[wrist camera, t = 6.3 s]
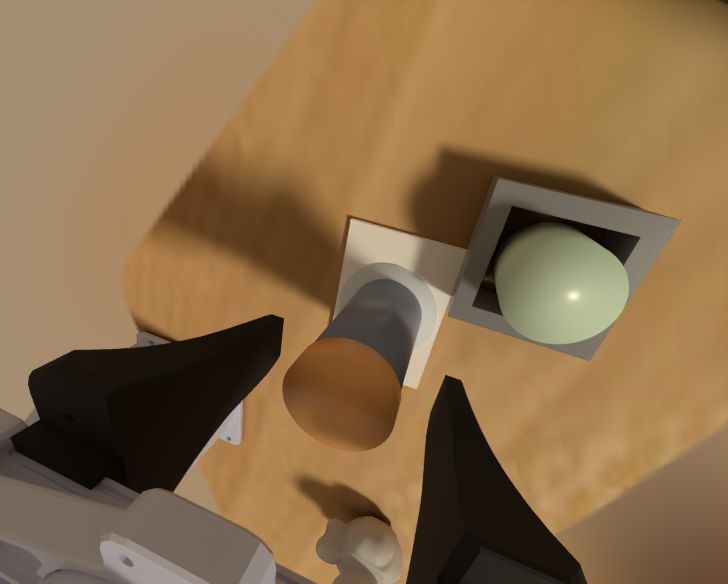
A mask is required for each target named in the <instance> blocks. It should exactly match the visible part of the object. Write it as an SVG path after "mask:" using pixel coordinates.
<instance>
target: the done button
mask: <svg viewBox="0 0 728 584" xmlns="http://www.w3.org/2000/svg"><path fill="white" fill-rule="evenodd" d="M493 275H494V280H495V285H496V290H497V295H498V300H499V305H500V308H501V311H502V314H503V316H504V318H505V319H506V321H507V322H508V323H509V324H510V326H511V327H512V328H514V329H515V330H516V331H517V332H519V333H520V334H521V335H523V336H525V337H527V338H529V339H532V340H534V341H538V342H542V343H548V344H569V343H575V342H579V341H583V340H585V339H588V338H591V337H593V336H595V335H597V334H599V333H600V332H602V331H603V330H605V329H606V328H607V327H609V326H610V325H611V324H612V323H613V322H614V321H615V320H616V319H617V318H618V316H619V315H620V314H621V312H622V310H623V309H624V307H625V304H626V302H627V299H628V294H629V281H628V276H627V273H626V270H625V269H624V267H623V265H622V263H621V262H620V261H619V260H618V258H617V257H616V256H614V255H613V254H612V253H611V252H610V251H608V250H607V249H605V248H604V247H602V246H601V245H599V244H598V243H596V242H595V241H593V240H592V239H590V238H589V237H587V236H586V235H584V234H583V233H581V232H580V231H578V230H577V229H575V228H573V227H571V226H569V225H565V224H562V223H556V222H543V223H537V224H533V225H529V226H527V227H524V228H522V229H520V230H519V231H517V232H515V233H514V234H512V235H511V236H510V237H509V238H508V239H507V240H506V241H505V242H504V243H503V244H502V245H501V247H500V248H499V250H498V252H497V254H496V257H495V260H494V265H493Z"/></svg>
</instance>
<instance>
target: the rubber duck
mask: <svg viewBox="0 0 728 584" xmlns="http://www.w3.org/2000/svg"><path fill="white" fill-rule="evenodd" d="M316 552H317V554H318V556H319V557H320V558H321V559H322V560H323V561H325V562H327V563H329V564H336V565H337V567H338V570H339V573H340V574H341V575H339V576H338V577H337V578H336V579H335V580H334V581H333V584H393V583H395V582H396V581H397V580H398V579H399V578H400V576H401V572H402V551H401V548H400V544H399V541H398V538H397V536H396V534H395V532H394V531H393V530H392V528H391V527H390V526H388V525H387V524H386V523H384V522H382V521H381V520H379V519H377V518H375V517H373V516H364V517H359V518H356V519H354V520H352V521H351V522H349V523H348V524H347V523H345V522H344V521H342V520H340V519H337V518H332V519H330V520H329V521H328V523H327V527H326V532H325V534H324V535H323V536H322V537H321V538H320V539H319V540H318V542H317V544H316Z"/></svg>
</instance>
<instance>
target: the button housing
mask: <svg viewBox="0 0 728 584" xmlns="http://www.w3.org/2000/svg"><path fill="white" fill-rule="evenodd" d="M512 206H515V207H519V208H524V209H528V210H532V211H536V212H540V213H544V214H548V215H552V216H556V217H560V218H565V219H569V220H573V221H577V222H581V223H585V224H589V225H593V226H597V227H601V228H606V229H608V230H607V232H606V234H605V236H604V238H603V239H602V241H601V243H600V245H601V246H602V247H604V248H605V249H607V250H608V251H610V252H611V253H612V254H613V255H614V256H616V257H617V258H618V260H619V261H620V262H621V263H622V265H623V267H624V269H625V270H626V273H627V276H628V281H629V294H628V299H627V302H626V304H625V306H626V305H627V303H628V302H629V300H630V298H631V297H632V295H633V294H634V292H635V291H636V289H637V288H638V286H639V285H640V283H641V282H642V280H643V279H644V277H645V276H646V274H647V272H648V271H649V269H650V268H651V266H652V265H653V263H654V262H655V260H656V259H657V257H658V256H659V254H660V253H661V251H662V249H663V248H664V246H665V245H666V243H667V242H668V240H669V239H670V237H671V236H672V234H673V233H674V231H675V230H676V228H677V226H678V225H679V223H680V222H681V220H677V219H674V218H671V217H667V216H664V215H661V214H657V213H654V212H651V211H648V210H644V209H640V208H636V207H631V206H627V205H623V204H618V203H614V202H610V201H605V200H601V199H596V198H592V197H588V196H583V195H579V194H575V193H570V192H566V191H562V190H557V189H553V188H548V187H544V186H540V185H535V184H531V183H527V182H522V181H518V180H513V179H509V178H505V177H500V176H496V175H494V176H493V178H492V181H491V184H490V187H489V189H488V192H487V195H486V198H485V201H484V203H483V206H482V209H481V212H480V214H479V217H478V220H477V223H476V225H475V228H474V231H473V234H472V237H471V239H470V242H469V245H468V248H467V252H466V255H465V257H464V260H463V263H462V266H461V269H460V271H459V274H458V277H457V280H456V282H455V285H454V288H453V291H452V293H451V296H450V304H449V311H448V316H449V317H452V318H456V319H459V320H462V321H465V322H468V323H471V324H474V325H478V326H481V327H484V328H487V329H490V330H493V331H496V332H500V333H503V334H506V335H509V336H512V337H515V338H518V339H522V340H525V341H528V342H531V343H534V344H537V345H540V346H544V347H547V348H550V349H553V350H556V351H559V352H562V353H566V354H569V355H572V356H575V357H578V358H581V359H585V360H588V361H590V360H591V358H592V357H593V355H594V354H595V352H596V351H597V349H598V348H599V346H600V344H601V343H602V341H603V340H604V338H605V337H606V335H607V334H608V332H609V331H610V329H611V328H612V326H613V325H614V323H615V321H616V320H617V319H616V320H615V321H614V322H613V323H612V324H611V325H610V326H609V327H607V328H606V329H605V330H603V331H602V332H600V333H599V334H597V335H595V336H593V337H591V338H588V339H585V340H583V341H579V342H575V343H569V344H548V343H542V342H538V341H534V340H532V339H529V338H527V337H525V336H523V335H521V334H520V333H519V332H517V331H516V330H515V329H514V328H512V327H511V326H510V324H509V323H508V322H507V321H506V319H505V318H504V316H503V314H502V311H501V308H500V305H499V300H498V295H497V292H493V291H490V290H486V289H483V288H480V284H481V282H482V279H483V277H484V274H485V272H486V269H487V267H488V264H489V262H490V260H491V257H492V255H493V252H494V250H495V247H496V245H497V242H498V240H499V237H500V235H501V232H502V230H503V227H504V225H505V222H506V220H507V217H508V215H509V212H510V210H511V207H512ZM624 308H625V307H624ZM622 311H623V310H622ZM618 317H619V316H618Z"/></svg>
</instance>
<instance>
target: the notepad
mask: <svg viewBox="0 0 728 584" xmlns="http://www.w3.org/2000/svg"><path fill="white" fill-rule="evenodd" d="M466 252H467V249H464V248H460V247H456V246H453V245H449V244H446V243H442V242H438V241H435V240H431V239H427V238H424V237H420V236H417V235H413V234H409V233H406V232H402V231H398V230H395V229H391V228H388V227H384V226H380V225H377V224H373V223H369V222H366V221H362V220H359V219H355V218H352V219H351V221H350V227H349V232H348V238H347V243H346V249H345V255H344V260H343V266H342V271H341V277H340V282H339V288H338V294H337V299H336V305H335V310H334V316H333V320H334V318H335V317H336V316H337V315H338V314H339V312H340V311H341V310H342V309H343V308H344V306H345V305H346V304H347V303H348V302H349V300H350V299H351V298H352V297H353V296H354V294H355V293H356V292H357V291H358V290H359V289H360V288H361V287H362V286H363V285H364V284H366V283H368V282H370V281H373V280H378V279H388V280H393V281H396V282H398V283H401V284H402V285H404V286H406V287H407V288H408V289H409V290H410V291H411V292H412V293H413V294H414V295H415V296H416V298H417V300H418V301H419V304H420V307H421V312H422V319H421V324H420V327H419V331H418V334H417V338H416V341H415V345H414V348H413V351H412V355H411V358H410V362H409V365H408V369H407V372H406V375H405V379H404V382H403V385H406V386H408V387H411V388H414V389H417V387H418V385H419V382H420V379H421V376H422V374H423V371H424V368H425V365H426V363H427V360H428V357H429V354H430V351H431V349H432V346H433V343H434V340H435V338H436V335H437V332H438V329H439V327H440V324H441V321H442V318H443V316H444V313H445V310H446V307H447V304H448V302H449V299H450V296H451V293H452V291H453V288H454V285H455V282H456V280H457V277H458V274H459V271H460V269H461V266H462V263H463V260H464V257H465V255H466Z"/></svg>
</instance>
